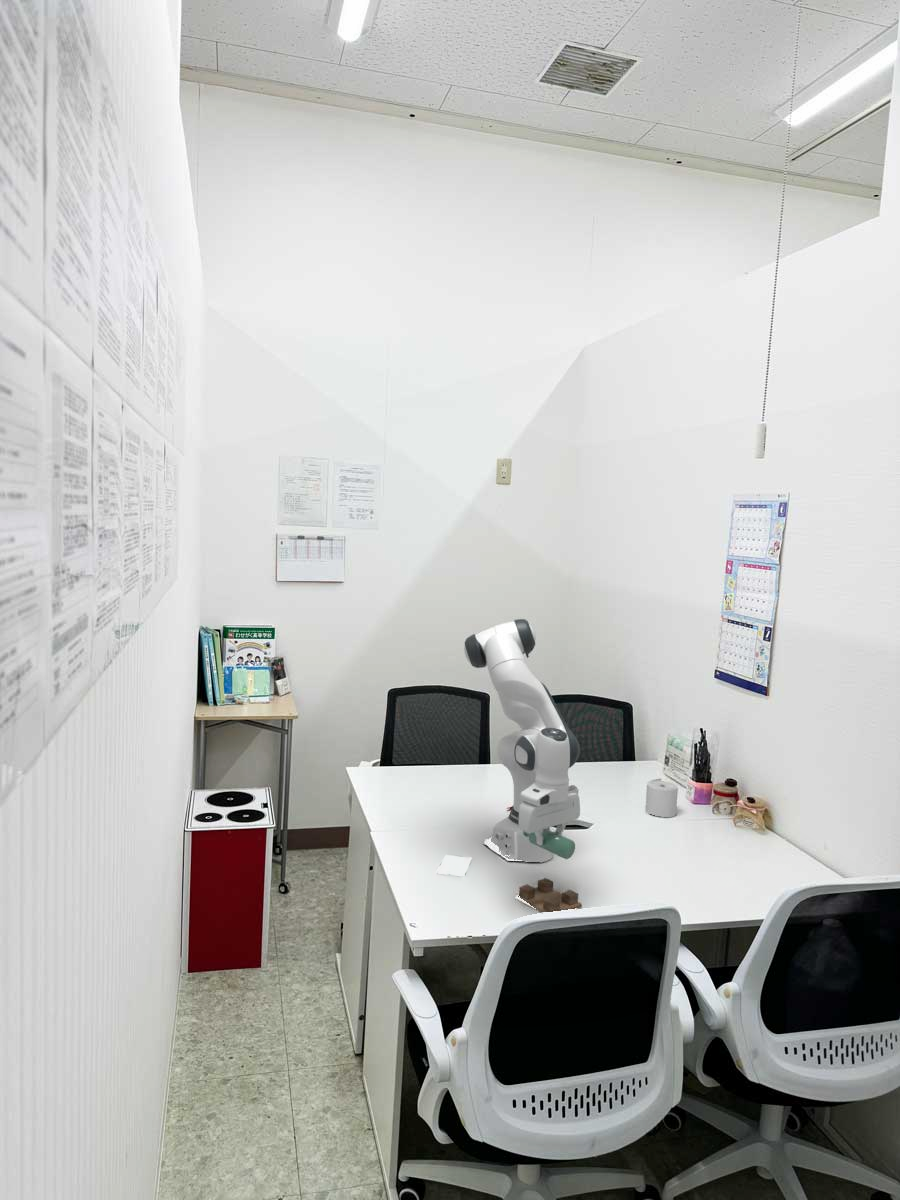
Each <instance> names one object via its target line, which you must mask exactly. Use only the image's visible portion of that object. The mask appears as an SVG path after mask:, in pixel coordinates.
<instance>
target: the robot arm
mask: <svg viewBox="0 0 900 1200" xmlns="http://www.w3.org/2000/svg"><path fill="white" fill-rule="evenodd" d="M536 637H537V636H536V631H535V630H534V627H533V626H532V624H530V622H529V621H528V620H527V619H524V618H518V619H517V618H516V619H514V621H508V622H503V623H499V624H496V625H494V626H492V627H489V628H486V629H485V630H483V631H480V632H478V633H476V634H475V633H474V634H471V635H469V636H468V637H467V638H466V639H465V641H464V645H463V646H464V650H463V651H464V655H465V658H466V660H467V661H468V662H469V664H470V665H471V666H472V667H474V668H476V669H482V668H486V666H487V670H488V674H489V678H490V680H491V683H492V685H493V687H494V690H495V691H496V692H497V695H498V698H499V701H500V705H501V708H502V710H503V714H504V715H505V716H506V717H507V719H509V720H511V721H513V722H514V723H516V724H517V725H518V726H519V728H521V730H516V731H513V732H511V733H508V734H506V735H504V736H502V737H501V738H500V739H499V741H498V743H497V747H496V754H497V757H498V760H499V761H500V763H501V764H502V765H503V766H504V767H505V768H506V769H507V770H508V771H509V773H510V776H511V778H512V783H513V784H512V785H513V805H512V806H510V807H507V808H506V809H507V810H506V812H509V814H508V816H507V817H506V818H505V819H502V820H501V821H499V822H497V823H496V824H495V825H494V826H493V828H492V831H491V836H492V838H491V842H493V843H494V844H495V845H497V846H498V847H499V852H500V851H501V854H502V855H503V856H505V855H508V856H509V855H510V856H509V857H508V856H505V857H506V858H508V859H514V860H516V859H517V860H522V861H527V862H540V863H545V862H548V861H550V860H551V859H553V856H554V853H551V852H549V851H547V850H545V849H543V848H541V847H539V846H536V845H534V844H532V843H531V842H530V841H529V837H526V836H524V834H523V831H524V832H526V833H533V832H534V833H535V835H536V837H537V844H538V845H543V844H545V838H544V837H543V836H542V834H541V833H543V829H547V830H550V831H551V828H553V827H556V829H555V831H553V832H554V833H556V834H559V835H561V836H563V832H564V830H565V828H566V826H567V825H566V824H567V823H569V822H572V821H576V820H578V819H579V817H580V816H581V804H580V796H579V788H578V787H577V786H576V785H574V784H572V785H570V783H569V782H570V778H569V774H568V773H569V769H570V768H572V767H573V766H574V765H575V764H576V763H577V761H578V759H579V757H580V753H581V746H580V743H579V741H578V738H576V736H575V734H574V733H573V732H572V731H571V729H570V727H569V726H568V724H567V723H566V721H565V718H564V717H563V715H562V713H561V711H560V709H559V707H558V706H557V703H556V702H555V700H554V698H553V696H552V695H551V693H550V691H549V689H548V687H547V685H545V684H544V683H543V682H542V681H540V680H539V679H537V677H535V676H534V674H533V673H532V671H531V670H530V668H529V666H528V664H527V661H526V659H525V657H526V658H527V659H528V658H530V656H529V654H531V653H532V652H533V650H534V649H535V646H536V641H537V640H536ZM524 654H525V656H524Z"/></svg>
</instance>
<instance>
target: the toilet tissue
mask: <svg viewBox="0 0 900 1200" xmlns="http://www.w3.org/2000/svg"><path fill="white" fill-rule="evenodd" d="M678 786H679V785H677V784H675V783H673V782H670V781H665V780H662V778H657V779H652V780H650V781H648V782H647V783H646V793H645V794H646V795H645V812H646V813H647V812H648V813H649V814H648V813H647V814H648V815H650V814H652V815H655V816H654V817H656V816H661V817H660V818H664V817H668V818H674V817H676V816H675V815H677V810H678V809H677V808H678V807H677V806H678V792H679V787H678ZM652 815H651V816H652ZM673 816H674V817H673Z"/></svg>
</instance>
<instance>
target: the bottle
mask: <svg viewBox="0 0 900 1200" xmlns="http://www.w3.org/2000/svg"><path fill="white" fill-rule="evenodd" d="M554 832H555V831H552V830H551V829H550V830H547V829H543V833H541V834H542V836H543V837H544V838H545V844H543V845H538V844H537V837H536V835H535V833H534V832H533V833H526V832H524V831H523V834H524V836H526V837H529V841H530V842H531V843H532V844H534V845H536V846H539V847H541V848H543V849H545V850H547V851H549V852H551V853H553V855H556V856H557V857H560V858H562V859H564V860H569V859H570V858H572V857H573V855H574V853H575V850H576V844H575V842H574V840H572V839H569V838H568V837H566V836H563V835H562V836H561V835H559V834H556V833H554Z"/></svg>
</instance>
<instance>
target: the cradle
mask: <svg viewBox="0 0 900 1200" xmlns="http://www.w3.org/2000/svg"><path fill="white" fill-rule="evenodd" d="M518 891H519V892H518V894H519V896H520V898H521V899H523V900H524V901H526V902H527V903H529V904H530V905H531V906H533V907H534V908H536V910H535V911H537V910H538V913H539V912H540V913H541V912H553V911H561V910H568V909H575V908H579V909H581V908H582V907H583V904H582V903H581V902H579V893H577V891H576V892H575V891H573V890H572V889H567V890H565V891H562V892H559V891H557V890H556V889H554V881H553V880H551V879H549V878H546V877H544V878H541V879H538V880H537V886H536V887H534V886H532V885H529V884H524V885H521V886H519V888H518ZM519 896H518V897H519Z"/></svg>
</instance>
